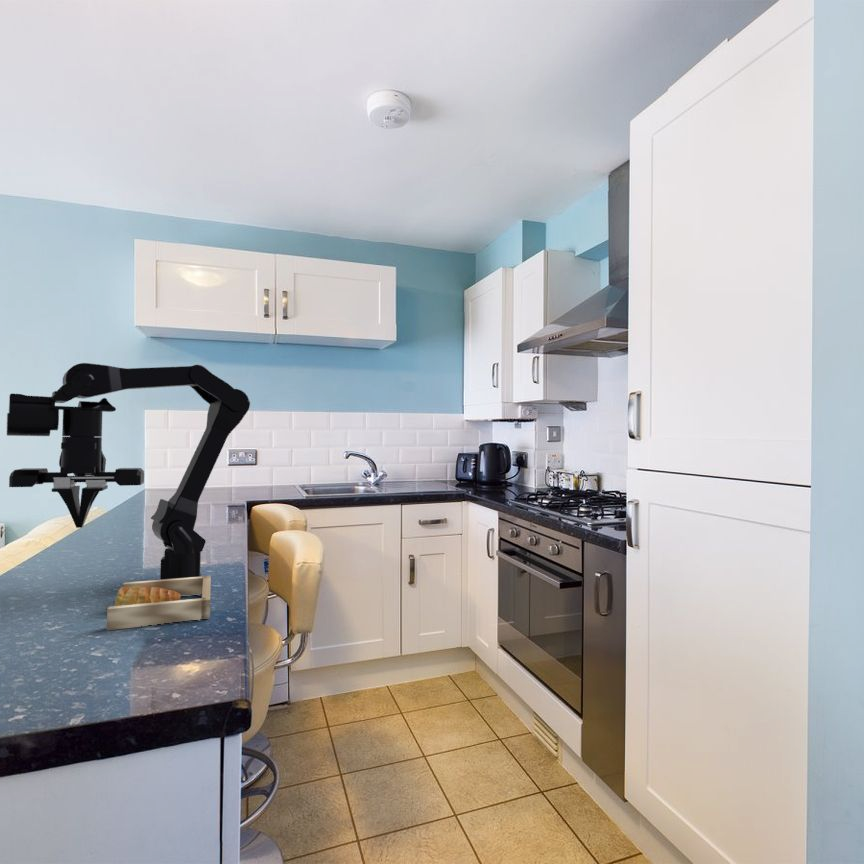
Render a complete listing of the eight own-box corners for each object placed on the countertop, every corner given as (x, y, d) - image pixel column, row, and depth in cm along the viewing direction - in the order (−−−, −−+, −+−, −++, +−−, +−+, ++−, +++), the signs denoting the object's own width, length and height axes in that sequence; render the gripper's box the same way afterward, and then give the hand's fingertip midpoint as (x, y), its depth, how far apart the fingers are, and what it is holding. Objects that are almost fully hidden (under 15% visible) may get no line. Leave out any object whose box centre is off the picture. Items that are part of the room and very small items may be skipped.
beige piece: (210, 592, 94) (210, 575, 94) (209, 619, 80) (210, 599, 80) (123, 600, 89) (123, 582, 89) (106, 630, 75) (107, 609, 75)
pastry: (182, 600, 90) (182, 578, 90) (177, 613, 84) (178, 589, 84) (119, 605, 87) (120, 582, 87) (110, 619, 80) (111, 594, 80)
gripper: (148, 437, 102) (146, 518, 101) (31, 436, 94) (28, 522, 94) (141, 437, 91) (139, 527, 91) (9, 435, 84) (6, 533, 84)
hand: (79, 527), depth 90 cm, fingers closed
